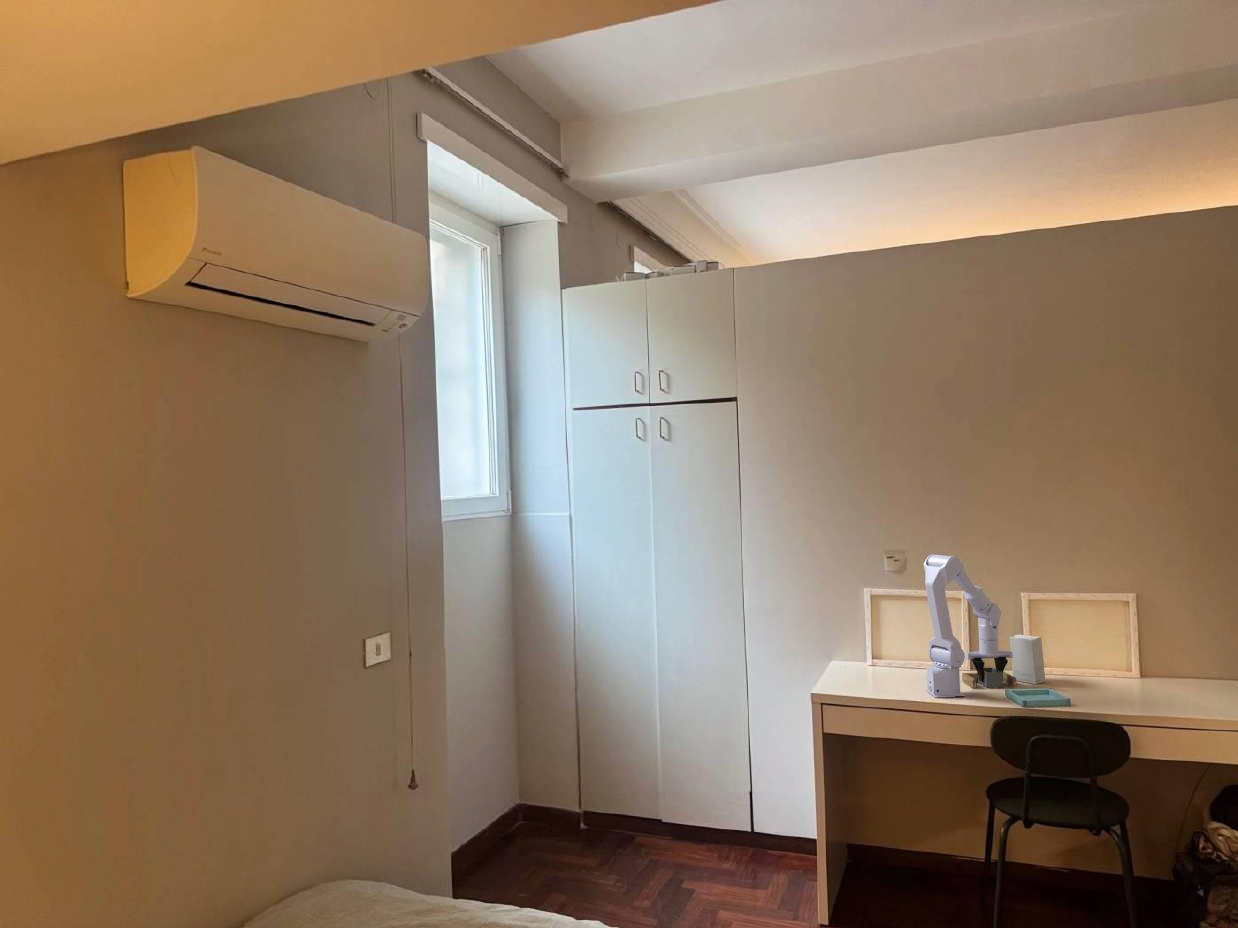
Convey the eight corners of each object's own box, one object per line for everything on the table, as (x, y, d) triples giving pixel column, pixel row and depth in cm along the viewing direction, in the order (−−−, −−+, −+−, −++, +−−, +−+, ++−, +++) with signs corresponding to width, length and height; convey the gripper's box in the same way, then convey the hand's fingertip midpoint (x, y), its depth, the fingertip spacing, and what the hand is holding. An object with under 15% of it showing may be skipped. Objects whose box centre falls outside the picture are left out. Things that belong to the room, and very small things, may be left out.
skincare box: (1045, 681, 273) (1043, 636, 273) (1035, 685, 270) (1033, 639, 270) (1021, 677, 280) (1019, 633, 280) (1011, 680, 277) (1009, 635, 277)
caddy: (987, 688, 268) (986, 672, 268) (978, 682, 275) (977, 667, 275) (1002, 687, 268) (1002, 672, 268) (993, 682, 275) (992, 667, 275)
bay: (972, 688, 269) (972, 679, 269) (962, 681, 277) (962, 672, 277) (1016, 687, 268) (1016, 677, 268) (1004, 680, 277) (1004, 671, 277)
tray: (1023, 707, 247) (1023, 700, 247) (1005, 696, 259) (1004, 689, 259) (1070, 705, 247) (1070, 699, 247) (1050, 694, 259) (1050, 688, 259)
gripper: (1005, 635, 276) (1006, 676, 276) (961, 637, 276) (962, 677, 276) (1015, 639, 269) (1016, 681, 269) (970, 641, 269) (971, 683, 269)
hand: (990, 680), depth 272 cm, fingers closed on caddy, 5 cm apart
